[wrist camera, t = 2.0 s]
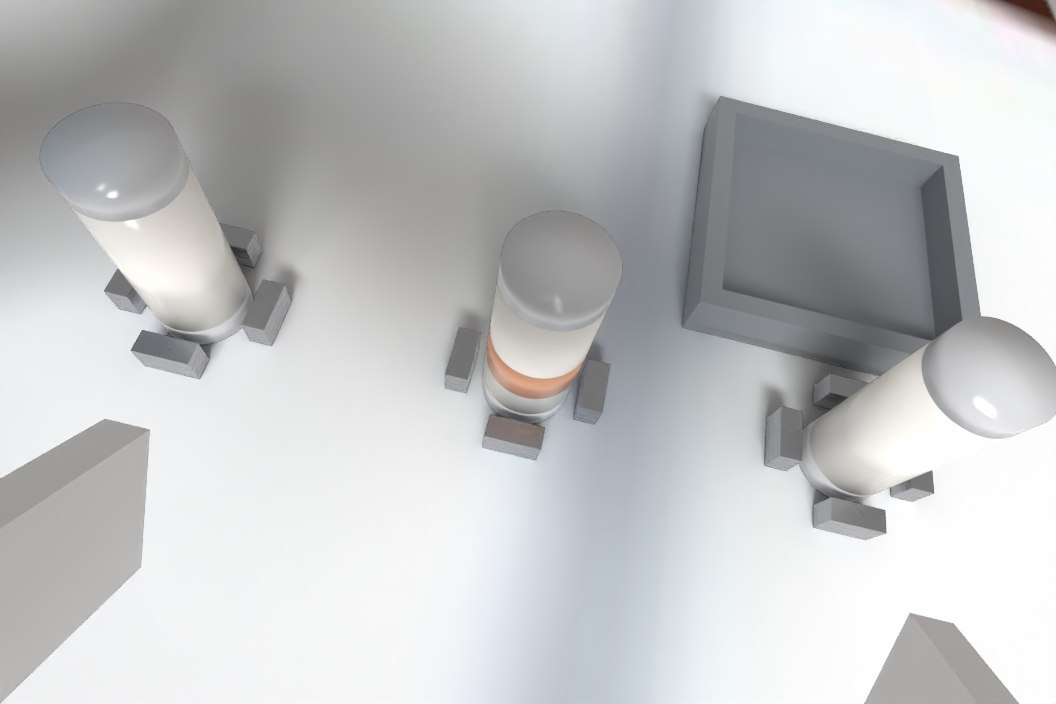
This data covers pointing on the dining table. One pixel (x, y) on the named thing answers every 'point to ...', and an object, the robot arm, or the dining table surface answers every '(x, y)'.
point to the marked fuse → (546, 311)
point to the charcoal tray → (826, 240)
